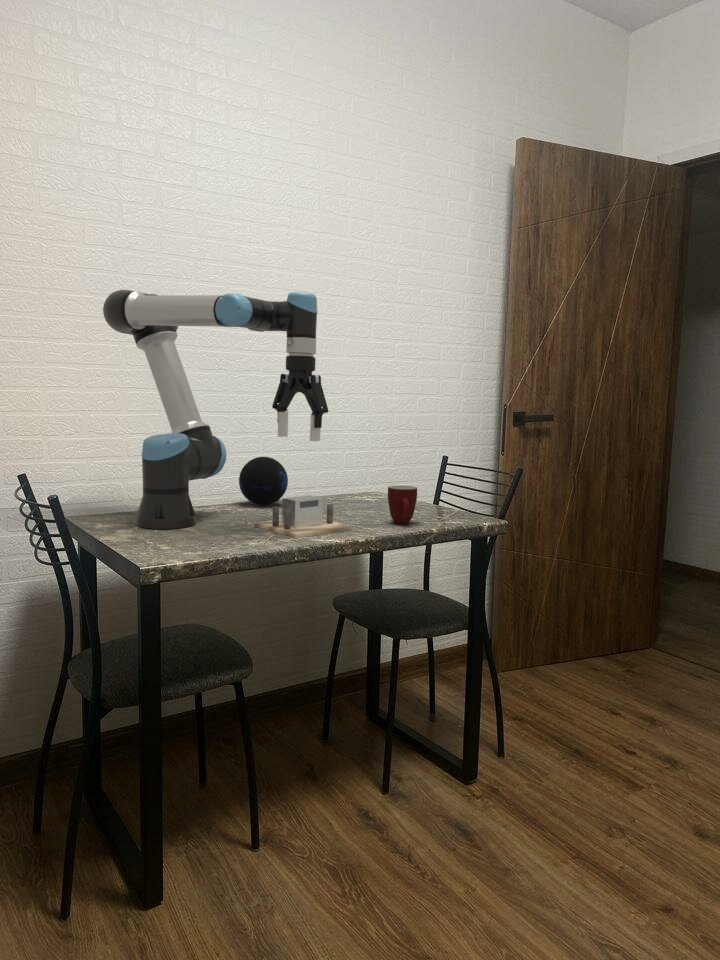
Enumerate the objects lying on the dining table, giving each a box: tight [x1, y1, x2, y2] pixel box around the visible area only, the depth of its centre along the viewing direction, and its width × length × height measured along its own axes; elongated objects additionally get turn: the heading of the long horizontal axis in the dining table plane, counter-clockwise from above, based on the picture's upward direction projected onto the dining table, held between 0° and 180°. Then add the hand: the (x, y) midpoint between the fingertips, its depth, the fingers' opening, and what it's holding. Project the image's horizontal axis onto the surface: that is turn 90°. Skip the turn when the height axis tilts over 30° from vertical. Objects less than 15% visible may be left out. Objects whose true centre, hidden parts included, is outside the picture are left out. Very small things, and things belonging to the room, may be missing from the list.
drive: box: [281, 494, 324, 528], centre depth 191 cm, size 6×9×7 cm, turn 132°
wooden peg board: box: [254, 503, 353, 539], centre depth 191 cm, size 18×18×6 cm
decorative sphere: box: [238, 456, 289, 506], centre depth 226 cm, size 15×15×15 cm
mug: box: [387, 484, 418, 525], centre depth 200 cm, size 10×8×10 cm
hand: (298, 438), depth 189 cm, fingers open, 13 cm apart
